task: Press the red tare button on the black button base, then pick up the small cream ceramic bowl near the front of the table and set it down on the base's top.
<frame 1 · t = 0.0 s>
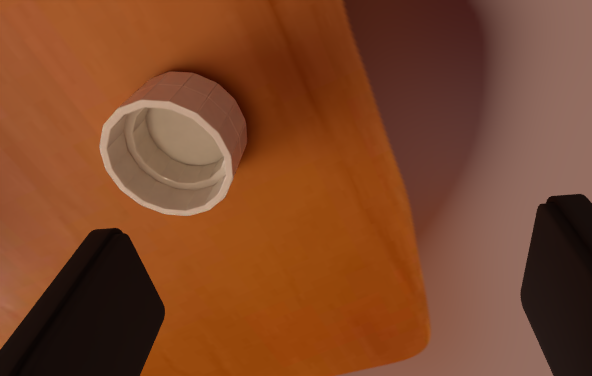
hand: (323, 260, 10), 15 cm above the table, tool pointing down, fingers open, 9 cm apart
small bowl: (192, 124, 25), on the table
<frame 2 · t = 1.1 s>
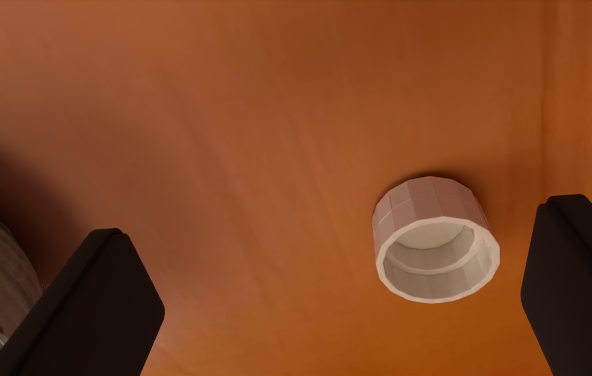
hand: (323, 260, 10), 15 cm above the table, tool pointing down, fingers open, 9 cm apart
small bowl: (424, 215, 27), on the table
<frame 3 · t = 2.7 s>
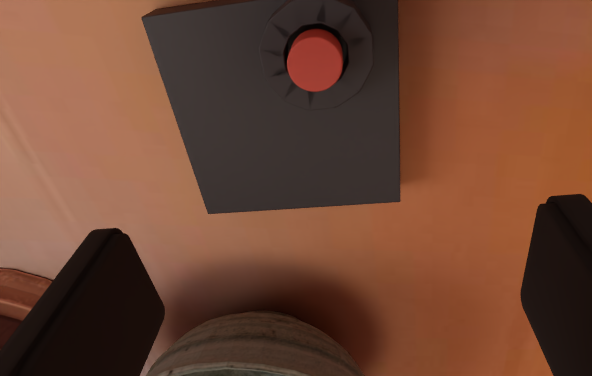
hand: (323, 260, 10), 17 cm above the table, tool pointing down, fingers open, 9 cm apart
bowl: (271, 337, 39), on the table
mug: (47, 342, 43), on the table
black button base: (288, 106, 25), on the table
tare button: (315, 60, 20), point 4 cm above the table, slide at 0.1 cm
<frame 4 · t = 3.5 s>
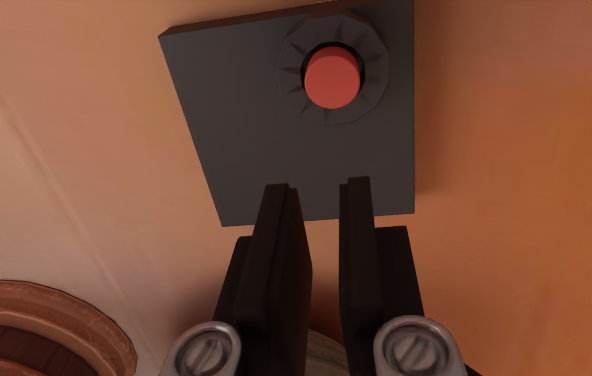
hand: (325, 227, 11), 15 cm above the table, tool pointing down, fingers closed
bowl: (284, 346, 39), on the table
mug: (59, 353, 44), on the table
black button base: (301, 120, 26), on the table
tare button: (332, 77, 20), point 4 cm above the table, slide at 0.1 cm
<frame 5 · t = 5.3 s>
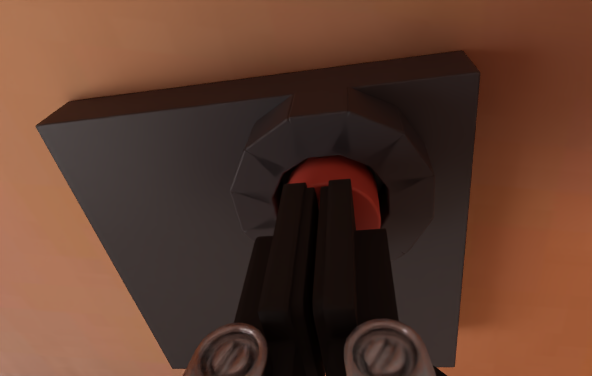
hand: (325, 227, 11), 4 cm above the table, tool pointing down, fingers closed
black button base: (285, 232, 17), on the table
tare button: (330, 206, 11), point 4 cm above the table, slide at -0.2 cm, touching gripper
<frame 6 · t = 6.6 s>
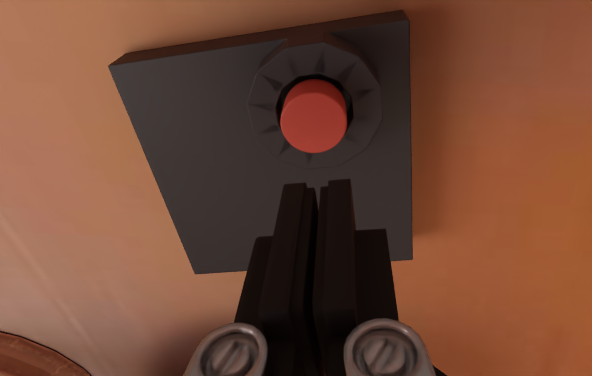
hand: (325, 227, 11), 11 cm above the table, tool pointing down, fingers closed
black button base: (282, 156, 22), on the table
tare button: (314, 116, 17), point 4 cm above the table, slide at 0.1 cm
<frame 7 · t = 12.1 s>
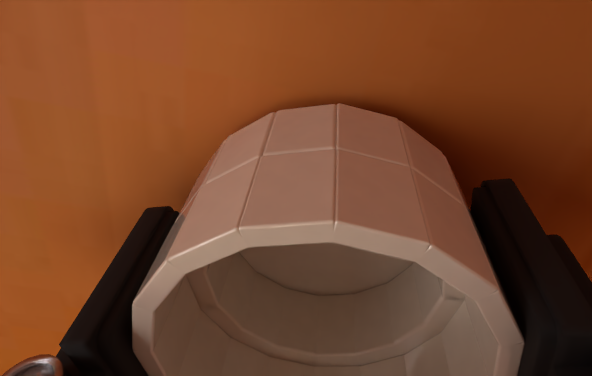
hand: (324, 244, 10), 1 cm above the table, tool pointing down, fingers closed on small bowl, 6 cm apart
small bowl: (325, 215, 11), on the table, touching gripper
when the fingers open (3 cm above the table, at t = 20.9 s): small bowl stays where it is, resting on black button base.
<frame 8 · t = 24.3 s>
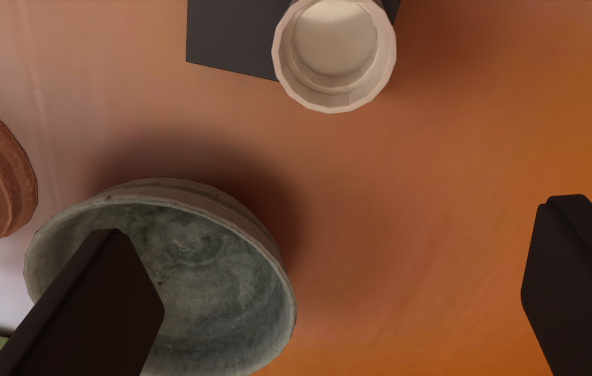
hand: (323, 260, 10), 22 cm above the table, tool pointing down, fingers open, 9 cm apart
small bowl: (334, 34, 26), point 2 cm above the table, touching black button base
bowl: (198, 226, 40), on the table
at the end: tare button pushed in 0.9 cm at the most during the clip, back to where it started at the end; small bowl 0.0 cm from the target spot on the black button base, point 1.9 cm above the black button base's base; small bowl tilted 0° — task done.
